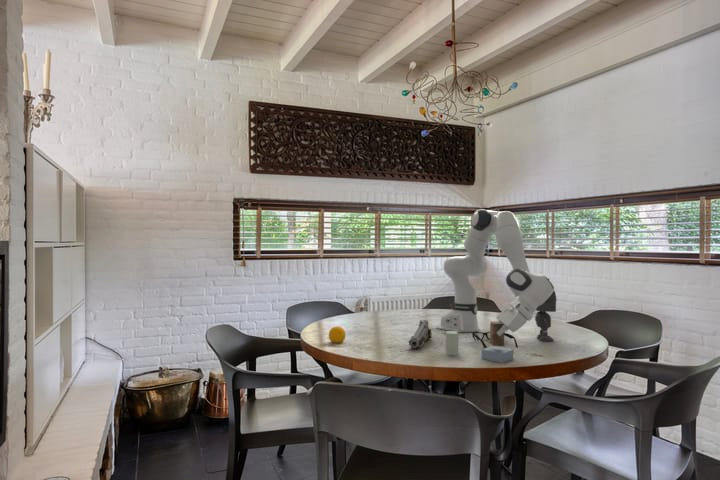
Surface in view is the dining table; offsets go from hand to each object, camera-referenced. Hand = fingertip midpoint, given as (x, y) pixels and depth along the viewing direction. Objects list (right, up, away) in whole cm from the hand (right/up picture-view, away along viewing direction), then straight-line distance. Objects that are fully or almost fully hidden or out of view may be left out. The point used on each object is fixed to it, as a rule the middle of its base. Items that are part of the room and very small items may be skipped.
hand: (495, 332), depth 183 cm
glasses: (+6, -11, +25) cm, 28 cm away
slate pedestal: (+1, -11, 0) cm, 11 cm away
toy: (-27, -11, +24) cm, 38 cm away
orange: (-66, -10, +28) cm, 72 cm away
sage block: (-16, -10, +8) cm, 21 cm away
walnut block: (+1, -5, 0) cm, 5 cm away
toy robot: (+33, -10, +33) cm, 48 cm away
